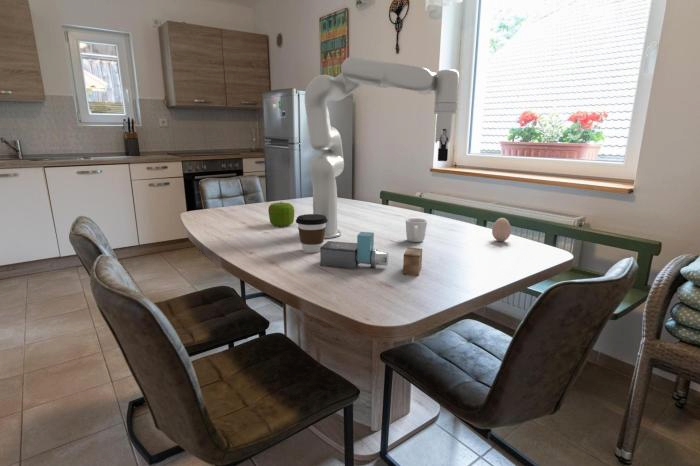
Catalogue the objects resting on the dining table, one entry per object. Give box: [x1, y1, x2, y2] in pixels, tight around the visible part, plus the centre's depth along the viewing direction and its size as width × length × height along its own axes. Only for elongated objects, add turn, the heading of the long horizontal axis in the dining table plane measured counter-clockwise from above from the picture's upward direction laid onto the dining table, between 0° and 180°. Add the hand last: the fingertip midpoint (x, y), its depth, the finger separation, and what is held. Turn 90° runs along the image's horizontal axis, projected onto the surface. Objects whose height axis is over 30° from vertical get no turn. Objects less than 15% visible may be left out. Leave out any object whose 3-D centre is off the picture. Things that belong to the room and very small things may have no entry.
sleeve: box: [319, 240, 361, 270], centre depth 125 cm, size 11×8×6 cm
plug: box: [356, 231, 389, 268], centre depth 123 cm, size 19×6×10 cm, turn 74°
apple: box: [267, 201, 295, 228], centre depth 175 cm, size 11×11×11 cm
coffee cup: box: [295, 213, 328, 254], centre depth 138 cm, size 11×11×12 cm
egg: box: [491, 217, 512, 243], centre depth 151 cm, size 7×7×9 cm
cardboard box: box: [402, 247, 423, 277], centre depth 119 cm, size 4×8×6 cm, turn 164°
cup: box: [405, 217, 428, 243], centre depth 150 cm, size 11×8×8 cm
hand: (442, 160), depth 140 cm, fingers open, 9 cm apart
